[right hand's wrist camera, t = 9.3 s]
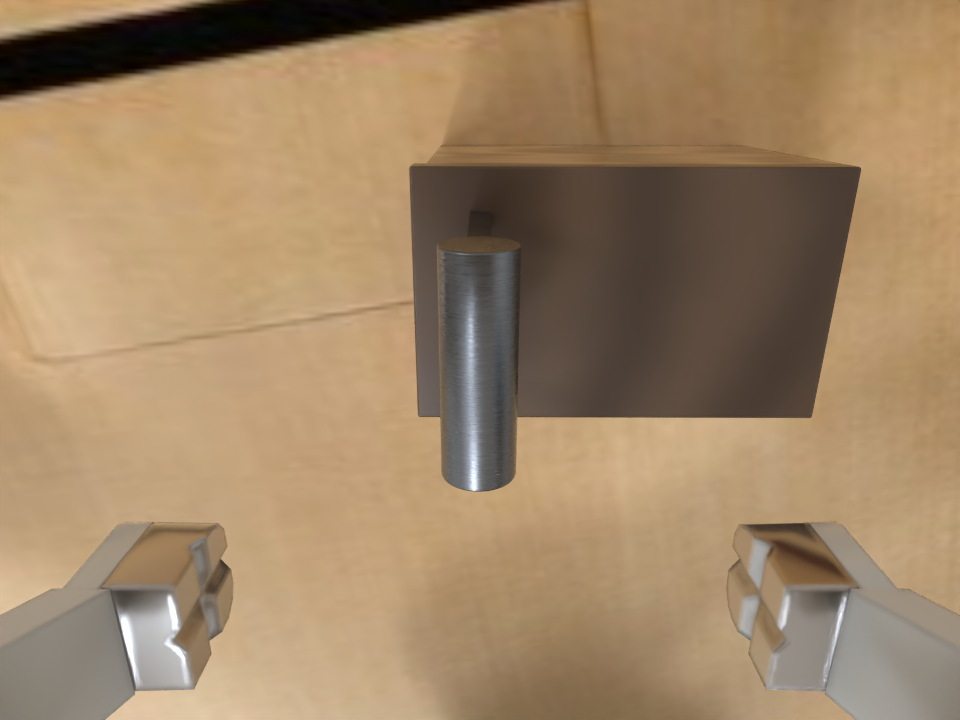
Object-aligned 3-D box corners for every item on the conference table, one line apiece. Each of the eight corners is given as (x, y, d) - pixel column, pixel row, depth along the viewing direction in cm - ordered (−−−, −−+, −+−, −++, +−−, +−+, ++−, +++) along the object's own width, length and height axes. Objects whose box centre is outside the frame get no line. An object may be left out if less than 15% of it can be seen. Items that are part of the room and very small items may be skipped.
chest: (444, 327, 36) (431, 405, 27) (440, 144, 33) (425, 163, 24) (718, 327, 36) (799, 406, 27) (743, 145, 33) (845, 164, 24)
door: (420, 406, 27) (394, 532, 19) (411, 163, 24) (376, 196, 16) (800, 406, 27) (931, 534, 19) (846, 164, 24) (1029, 197, 16)
